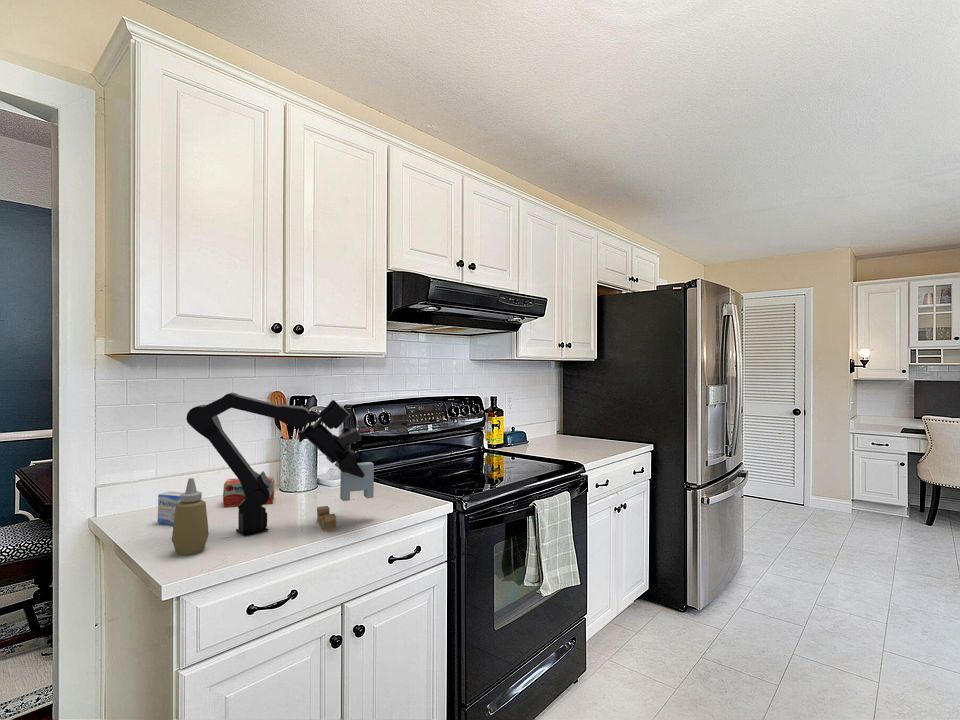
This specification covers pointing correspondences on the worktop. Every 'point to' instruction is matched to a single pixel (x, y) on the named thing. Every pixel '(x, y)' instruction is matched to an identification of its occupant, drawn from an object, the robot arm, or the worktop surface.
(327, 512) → the tan stepped bar
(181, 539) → the squeeze bottle
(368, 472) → the grey slotted plate
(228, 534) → the worktop surface
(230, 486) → the medicine box
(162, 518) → the medicine box
